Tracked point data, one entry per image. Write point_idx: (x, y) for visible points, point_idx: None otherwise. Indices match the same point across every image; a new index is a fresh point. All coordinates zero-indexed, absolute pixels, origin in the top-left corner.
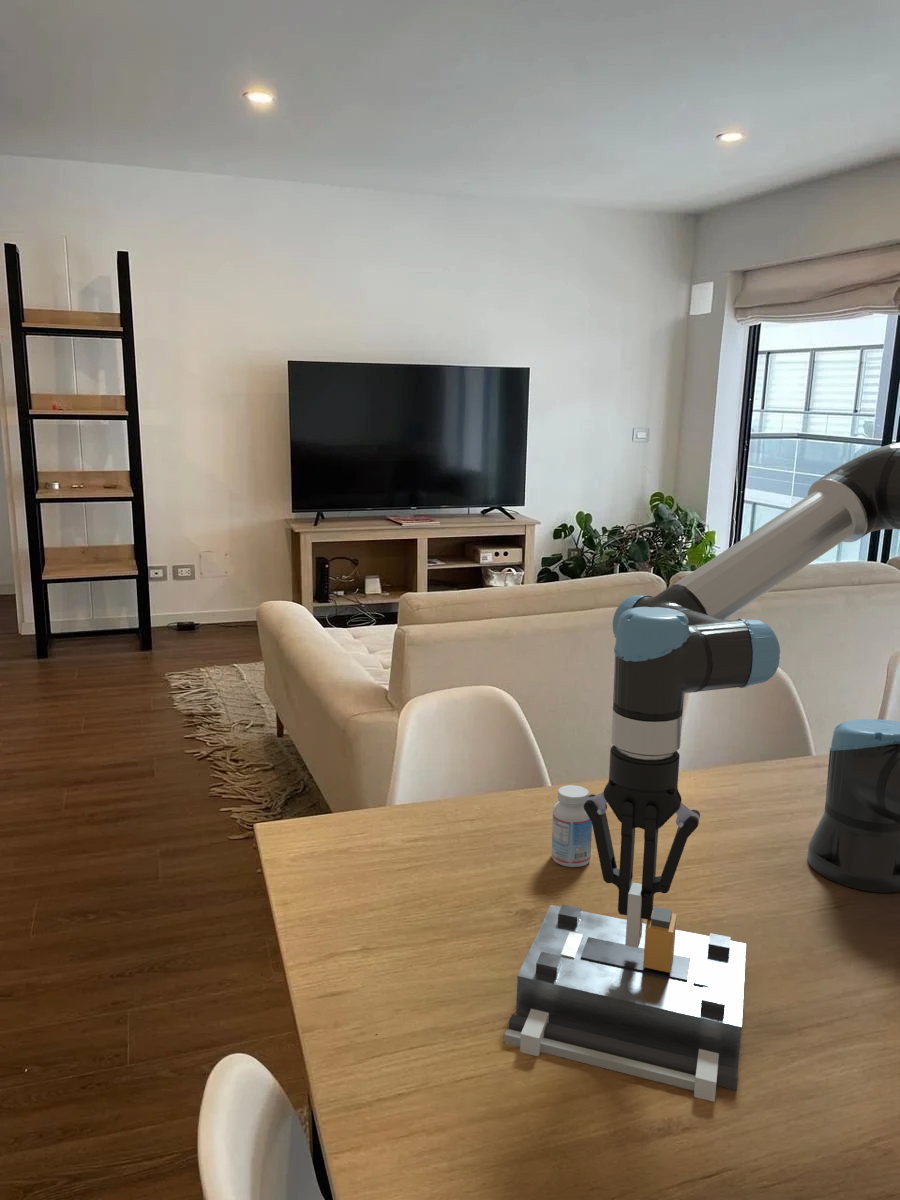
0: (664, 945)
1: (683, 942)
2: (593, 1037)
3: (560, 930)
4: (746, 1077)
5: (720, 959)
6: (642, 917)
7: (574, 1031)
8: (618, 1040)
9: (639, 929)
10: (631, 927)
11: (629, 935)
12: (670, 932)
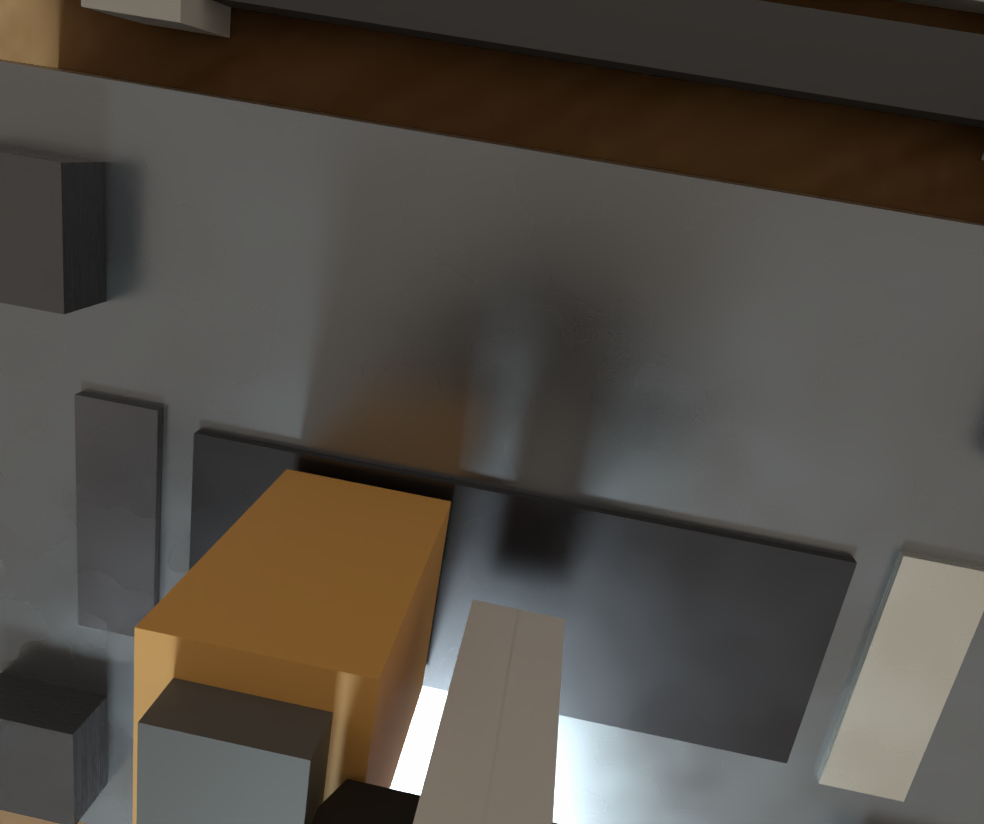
0: (260, 568)
1: None
2: (753, 51)
3: (960, 813)
4: (20, 20)
5: (40, 650)
6: (406, 801)
7: (863, 82)
8: (611, 58)
9: (446, 697)
10: (514, 711)
11: (533, 665)
12: (160, 631)
